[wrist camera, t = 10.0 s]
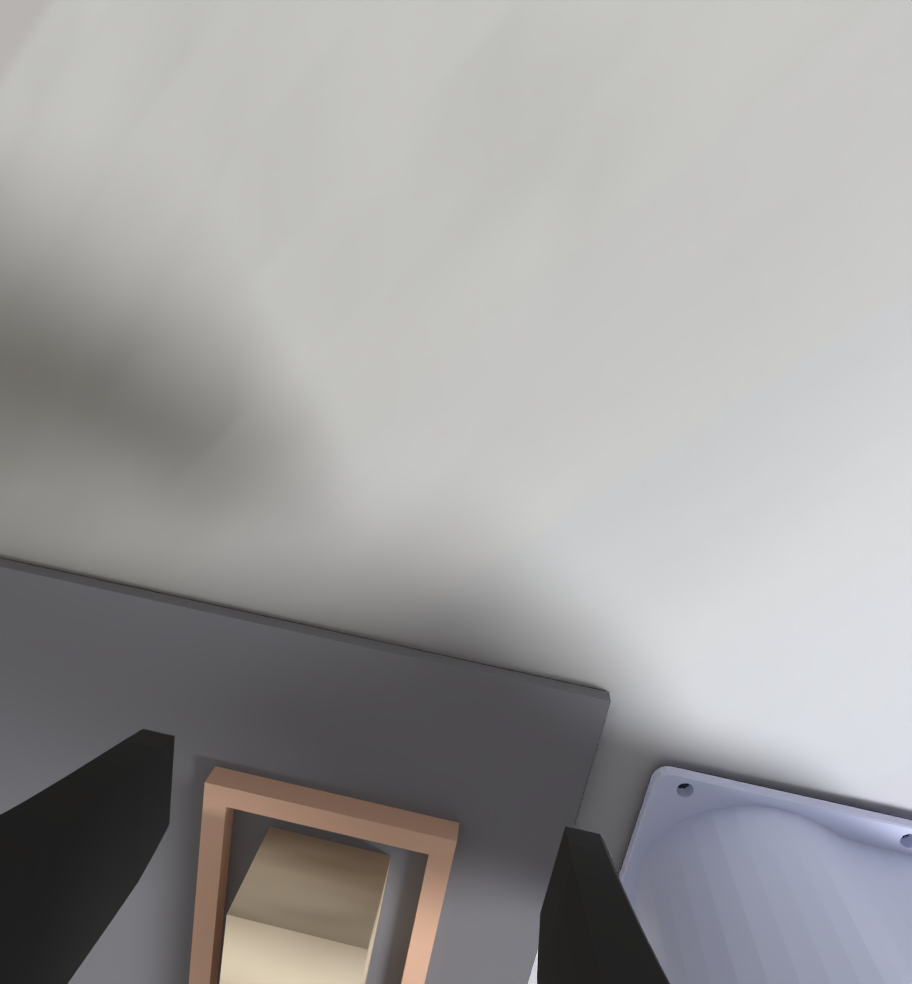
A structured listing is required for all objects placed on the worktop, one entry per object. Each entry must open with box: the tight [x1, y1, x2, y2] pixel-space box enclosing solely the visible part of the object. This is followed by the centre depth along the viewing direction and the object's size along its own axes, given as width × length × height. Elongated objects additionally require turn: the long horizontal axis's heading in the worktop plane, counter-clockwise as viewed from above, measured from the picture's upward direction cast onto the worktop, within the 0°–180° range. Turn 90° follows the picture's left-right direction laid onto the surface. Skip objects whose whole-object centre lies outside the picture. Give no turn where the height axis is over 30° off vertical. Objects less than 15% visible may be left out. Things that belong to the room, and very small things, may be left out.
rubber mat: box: [0, 558, 610, 984], centre depth 25 cm, size 24×20×1 cm
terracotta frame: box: [189, 766, 459, 984], centre depth 25 cm, size 9×14×1 cm, turn 170°
